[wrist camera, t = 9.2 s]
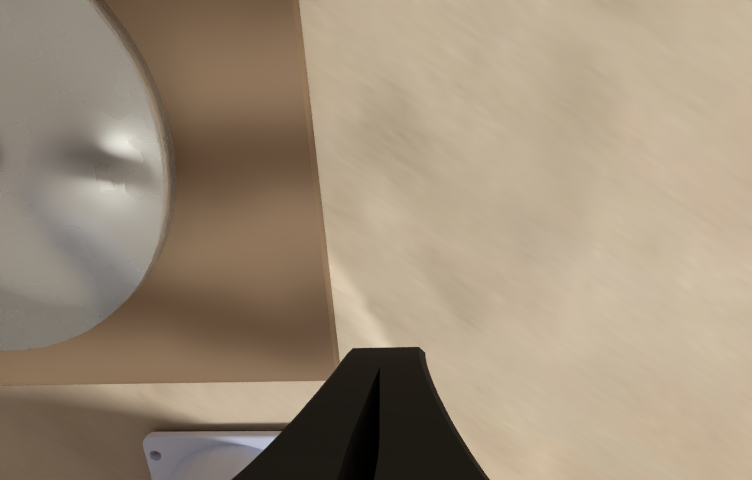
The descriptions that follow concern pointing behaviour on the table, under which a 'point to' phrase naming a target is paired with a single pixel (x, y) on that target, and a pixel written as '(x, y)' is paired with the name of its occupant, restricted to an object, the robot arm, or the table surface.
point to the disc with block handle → (76, 169)
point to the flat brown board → (219, 214)
